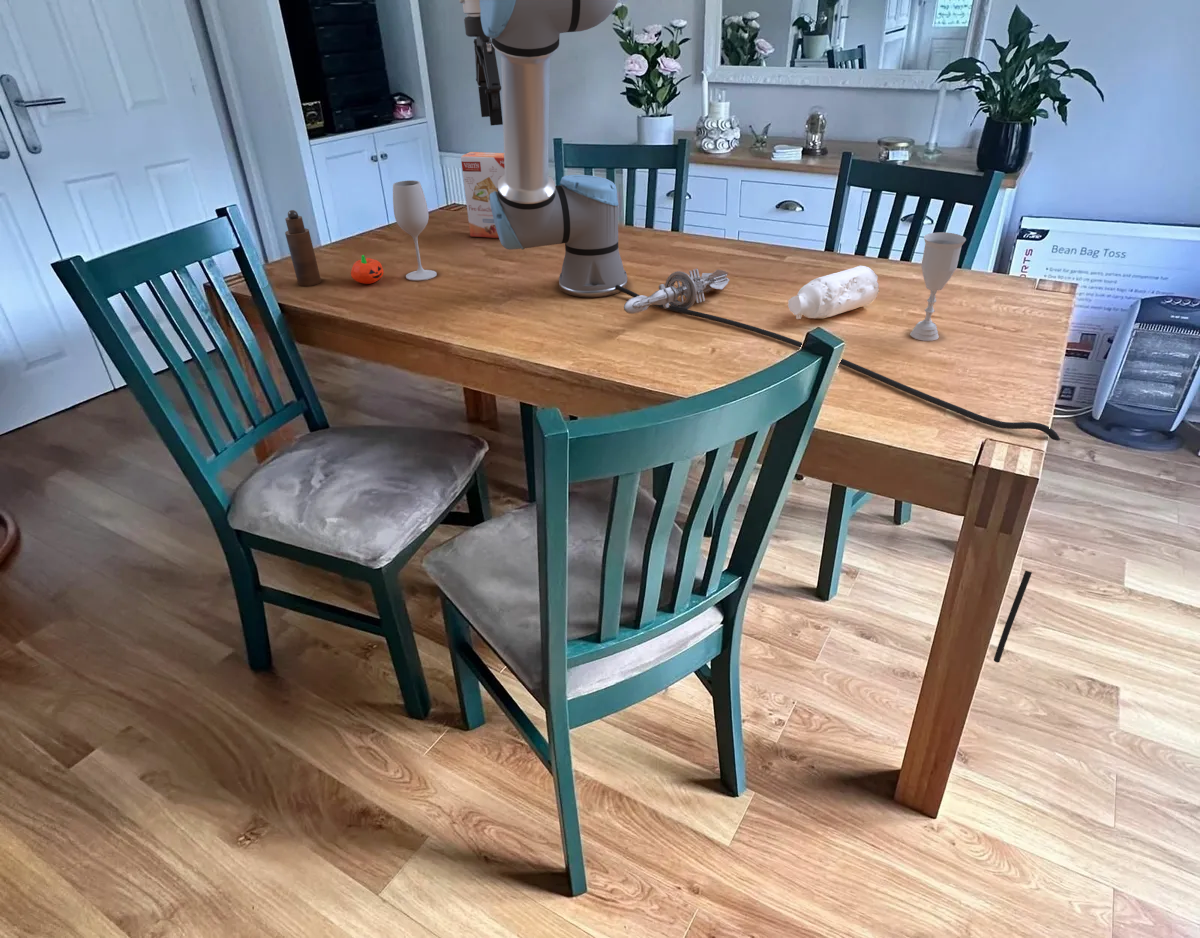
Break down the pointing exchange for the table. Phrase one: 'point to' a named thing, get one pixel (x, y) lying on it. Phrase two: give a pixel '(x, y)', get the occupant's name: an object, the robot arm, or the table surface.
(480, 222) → the cracker box
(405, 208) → the wineglass
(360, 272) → the pumpkin
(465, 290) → the table surface
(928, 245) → the chalice
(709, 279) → the spaceship
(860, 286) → the white bottle
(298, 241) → the pepper mill
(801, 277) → the table surface
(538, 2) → the robot arm
